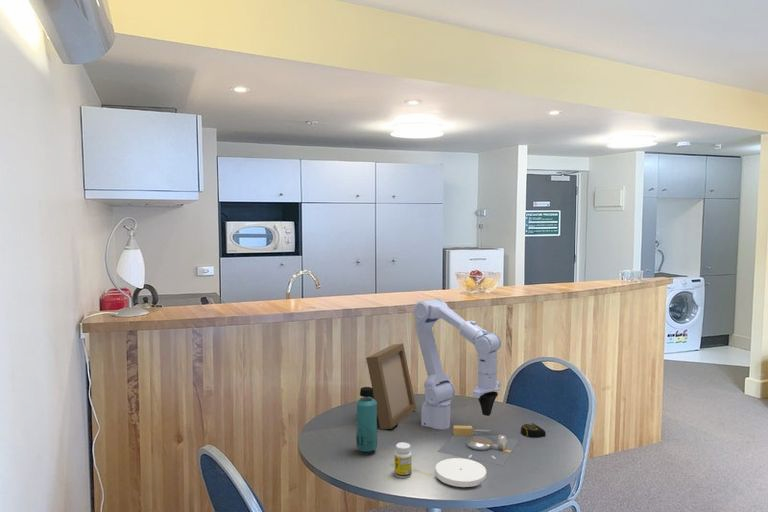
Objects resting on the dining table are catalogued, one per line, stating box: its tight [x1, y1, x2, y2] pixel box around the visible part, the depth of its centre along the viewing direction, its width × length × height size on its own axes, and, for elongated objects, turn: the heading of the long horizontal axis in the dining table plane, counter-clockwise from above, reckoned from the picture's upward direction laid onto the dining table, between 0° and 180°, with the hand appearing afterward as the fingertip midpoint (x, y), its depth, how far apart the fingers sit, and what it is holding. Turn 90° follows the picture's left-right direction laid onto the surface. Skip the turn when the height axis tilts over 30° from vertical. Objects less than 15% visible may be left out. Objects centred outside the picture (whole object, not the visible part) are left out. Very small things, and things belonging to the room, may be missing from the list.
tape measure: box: [520, 422, 547, 439], centre depth 177 cm, size 7×7×4 cm
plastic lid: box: [434, 457, 487, 488], centre depth 149 cm, size 14×14×2 cm
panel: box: [436, 432, 519, 467], centre depth 167 cm, size 20×20×1 cm
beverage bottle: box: [355, 386, 378, 452], centre depth 164 cm, size 6×7×20 cm
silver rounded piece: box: [466, 434, 507, 451], centre depth 166 cm, size 12×8×4 cm, turn 68°
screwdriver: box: [452, 425, 492, 436], centre depth 176 cm, size 12×2×2 cm, turn 88°
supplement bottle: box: [394, 441, 413, 479], centre depth 150 cm, size 5×5×8 cm
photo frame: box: [365, 343, 417, 430], centre depth 193 cm, size 15×22×25 cm
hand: (486, 414), depth 169 cm, fingers closed
